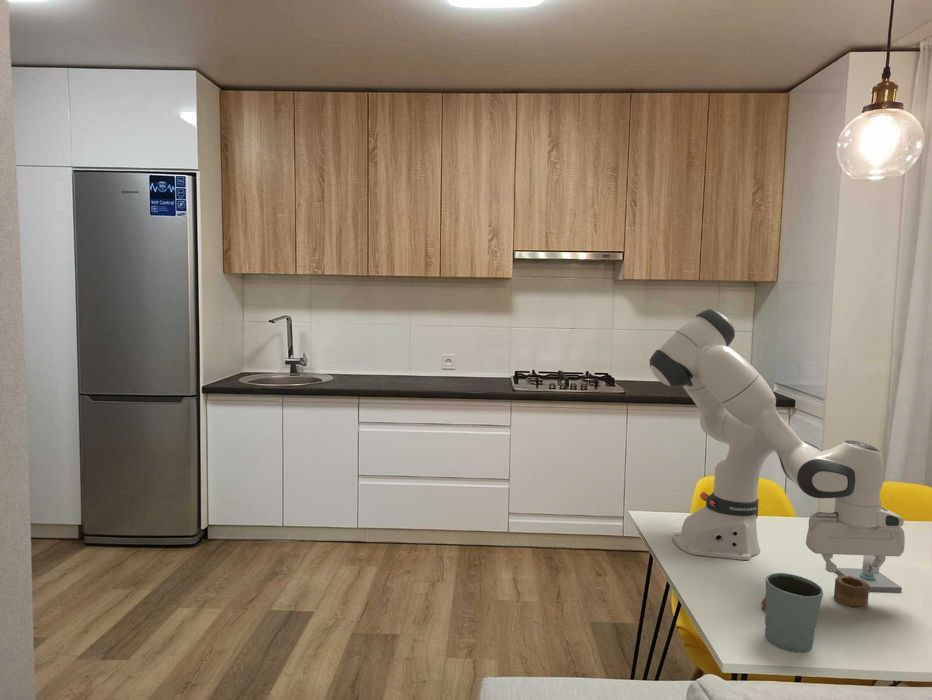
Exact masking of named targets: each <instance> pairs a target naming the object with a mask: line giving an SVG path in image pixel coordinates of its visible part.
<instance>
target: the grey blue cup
mask: <svg viewBox="0 0 932 700" xmlns="http://www.w3.org/2000/svg"><path fill="white" fill-rule="evenodd" d="M823 595H824V591H823V588H822V586H820V585H819V584H818V583H817V582H815V581H812V580H810V579H808V578H806V577H802V576H799V575H795V574H791V573H786V572H785V573H784V572H775V573H770V574H768V575H766V577H765V598H766V601H765V602H766V610H765V616H764V617H765V619H764V625H765V627H764V636H765V639H766V641H767V642H769V643H770V644H771V645H772V646H774V647H776V648H777V649H781V650H783V651H786V652H790V653H798V654H799V653H801V654H802V653H808V652H810V651H811V650H812V648H813V644H814V638H815V633H816V628H817V623H818V615H819V613H820V609H821V604H822V600H823V599H822V598H823Z"/></svg>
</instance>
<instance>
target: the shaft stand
mask: <svg viewBox="0 0 932 700" xmlns="http://www.w3.org/2000/svg"><path fill="white" fill-rule="evenodd" d="M862 558H863V559H862V560H863V561H862V568H856V567H854V568H853V567H852V568H851V567H849V568H848V567H845V568H844V567H837V569H836V572H834V573H835V574H836V575H837V576H851V577H855V578H858V579H861V580H863V581H865V582H866V583H867V584H869V592H871V593H873V592H874V593H877V592H879V593H902V590H903V587H902V586H900V585H899V584H897V583H896V582H895V581H893V580H892V579H890V578H889V577H887V576H886V575H885V574H883V573H881V572H880V571H879V574H871V573H870V572H868V568H869V567H868V564H872V562H873V561H874V559H875V558H876V557H874V556H870V555H863V557H862Z"/></svg>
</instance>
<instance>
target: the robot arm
mask: <svg viewBox="0 0 932 700" xmlns="http://www.w3.org/2000/svg"><path fill="white" fill-rule="evenodd" d="M734 339H735V328H734V326H733V324H732V323H731V320H730V319H729V318H728V317H726V316H725V315H724V314H722V313H721V312H719V311H718V310H716V309H711V308H710V309H709V308H708V309H705V310H703V311H701V312H699V313H698V314H696V315H695V317H694V318H692V319H690V320H689V321H687V323H685V324H683V325H682V326H681V327H680V328H679V329H677V330H675V333H674V334H673V335H672V336H670V337H669V338H668V339H667V340H666V341H665V342H664V343H663V344H662V345H661V346H660V348H659V349H656V350H655V351H654V353H653V354H652V355H651V357H650V359H649V367H650V369H651V372H652V373H653V375H654V377H655V378H656V379H657V380H658V381H659V382H660V383H662V384H664V385H666V386H668V387H670V388H683V389H684V390H685V392H686V393H687V395H688V396H689V398H691V400H692V401H693V403H694V404H695V405H696V407H697V408H698V410H699V412H700V415H699V425H700V427H701V430H702V431H703V432H704V433H705V434H707V435H708V436H710V437H711V438H712V439H714V440H716V441H718V442H721V443H723V444H726V445H728V446H729V447H728V453H727V455H726V457H725V459H724V460H721V461H719V462H718V463H717V464H716V466H715V468H714V480H713V492H712V493H711V494H708V493H706V492H705V491H703V492H701V493H700V495H699V497H700V499H701V500H702V501H704V502H705V505H704V506H703V507H701V508H700V509H698V510H696V511H695V512H693V513H690V515H688V516H687V517H685V519H684V521H683V523H682V528H681V531H675V532H674V533H673V534H672V540H673V542H674V543H675V545H676V546H677V547H678V548H679V549H680V550H681V551H683V552H685V553H687V554H690V555H694V556H703V557H714V558H721V559H732V560H740V561H741V560H742V561H743V560H744V561H748V560H750V559H751V558H752V557H753V556H756V555H758V554H759V553H760V551H761V548H760V544H759V541H758V533H757V532H758V530H757V519H758V515H759V498H758V492H759V491H758V490H759V480H760V473H761V469H762V467H763V465H764V464H765V462H766V459H767V458H769V457H768V456H770V455H771V454H773V453H776V454H777V456H778V459H779V463H780V467H781V469H782V471H783V473H784V475H785V476H786V477H787V478H788V479H789V480H791V481H792V482H794V484H795V485H796V487H798V488H799V489H800V490H801V491H802V492H803V493H804V494H806V495H808V496H809V497H812V498H815V499H834V506H833V509H834V510H833V511H831V512H830V511H828V512H827V511H826V512H825V511H824V512H823V511H816V512H815V513H813V514H812V515H810V516H809V517H808V528H807V529H808V530H807V533H806V538H805V545H806V547H807V548H808V549H809V550H810V551H811V552H813V554H819V555H821V556H822V558H823V560H824V562H825V570H826V571H827V572H828V573H835V572H836V569H837V568H838V567H837V566H838V565H836V564H835V563H834V562H832V559H833V557H834V556H833V555H844V556H845V555H846V556H848V555H849V556H864V555H870V556H874V557H875V559H874V561H873V562H872V564H868V567H869V568H868V572H870V573H871V574H879V572H880V568H881V566H882V565H883V564H884V563H885V561H886V558H887V557H901V556H902V555H903V553H904V551H905V537H906V536H905V531H904V529H903V528H902V526H903V525H904V524H905V523H904V521H905V520H904V518H903V517H902V516H900V515H899V514H897V513H895V512H893V511H891V510H889V509H888V508H886V507H882V500H881V490H882V488H883V484H884V459H883V455H882V452H881V451H880V450H879V449H877V448H876V447H875V446H873V445H871V444H867V443H865V442H862V441H856V440H849V439H848V440H843V441H842V443H840V444H838V445H836V446H834V447H832V448H828V449H826V450H821V449H820V447H817V446H816V445H814V444H812V443H810V442H807V441H806V440H803V439H802V438H800V437H799V436H798V435H797V434H796V433H795V431H794V430H793V429H792V428H791V427H790V426H789V425H788V423H787V422H786V421H785V420H784V419H783V418H782V416H781V415H780V414H779V412H778V410H777V407H776V404H777V403H776V402H777V398H776V395H775V394H774V392H773V390H772V389H771V387H770V386H769V384H768V382H767V381H766V380H765V378H763V376H762V375H761V374H760V373H759V372H758V371H757V370H756V369H755V367H753V366H752V364H751V363H749V362H748V361H747V360H746V359H745V357H743V356H742V355H740V354H739V353H738V352H737V351H735V350H734V349H732V348H731V347H729V346H730V344H731V343H732V342H733V341H734Z"/></svg>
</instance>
